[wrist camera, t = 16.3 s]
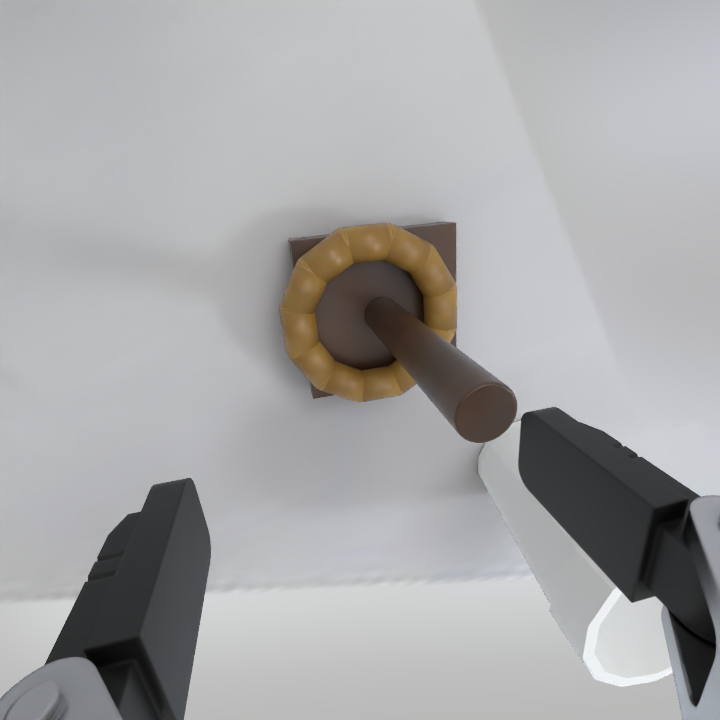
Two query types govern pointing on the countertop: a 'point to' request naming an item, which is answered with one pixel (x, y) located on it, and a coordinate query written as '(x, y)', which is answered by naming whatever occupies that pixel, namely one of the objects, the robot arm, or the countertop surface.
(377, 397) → the ring
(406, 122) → the countertop surface
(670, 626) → the robot arm
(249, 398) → the countertop surface
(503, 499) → the foam cup
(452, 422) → the post
